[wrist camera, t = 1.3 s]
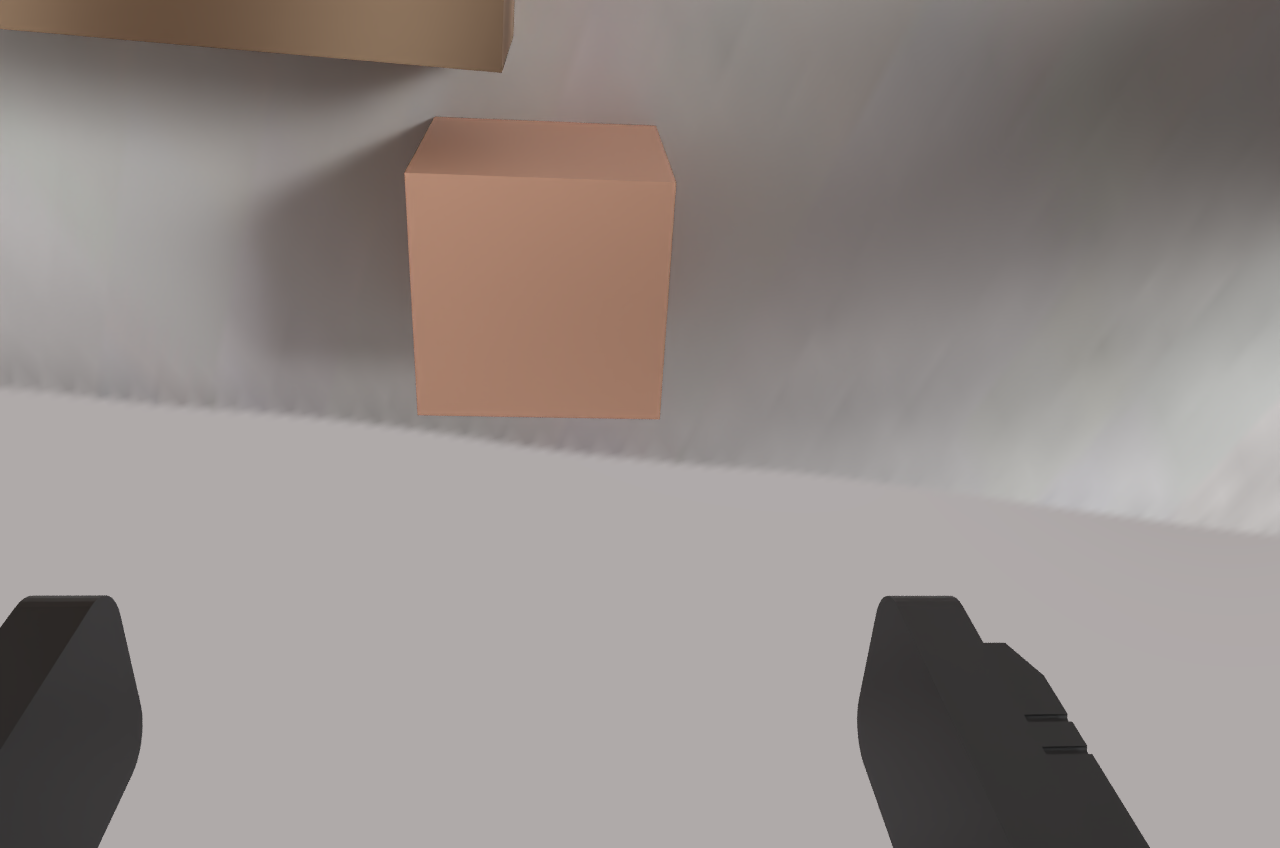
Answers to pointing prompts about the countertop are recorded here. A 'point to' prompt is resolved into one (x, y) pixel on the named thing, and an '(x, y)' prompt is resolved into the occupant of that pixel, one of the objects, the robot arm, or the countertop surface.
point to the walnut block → (292, 27)
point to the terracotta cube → (539, 268)
